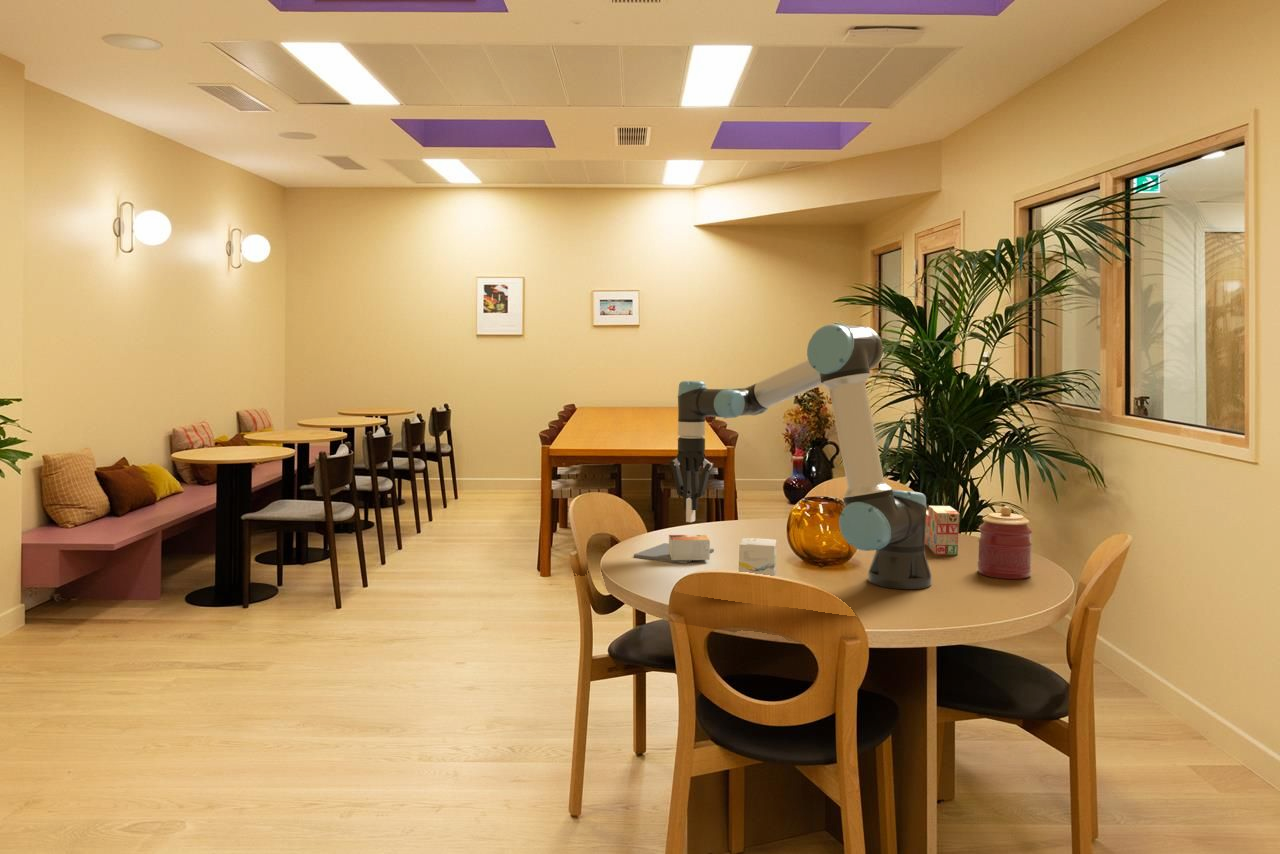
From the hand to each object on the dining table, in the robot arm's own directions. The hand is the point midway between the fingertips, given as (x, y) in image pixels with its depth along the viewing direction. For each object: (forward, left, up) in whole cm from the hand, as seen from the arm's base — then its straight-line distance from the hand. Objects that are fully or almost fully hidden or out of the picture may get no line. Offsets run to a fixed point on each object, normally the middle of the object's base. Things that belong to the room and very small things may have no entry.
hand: (690, 521), depth 260 cm
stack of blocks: (-57, -49, -10) cm, 76 cm away
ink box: (-30, +24, -10) cm, 40 cm away
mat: (+5, 0, -10) cm, 11 cm away
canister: (-79, -23, -10) cm, 83 cm away
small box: (-6, +1, -6) cm, 9 cm away
